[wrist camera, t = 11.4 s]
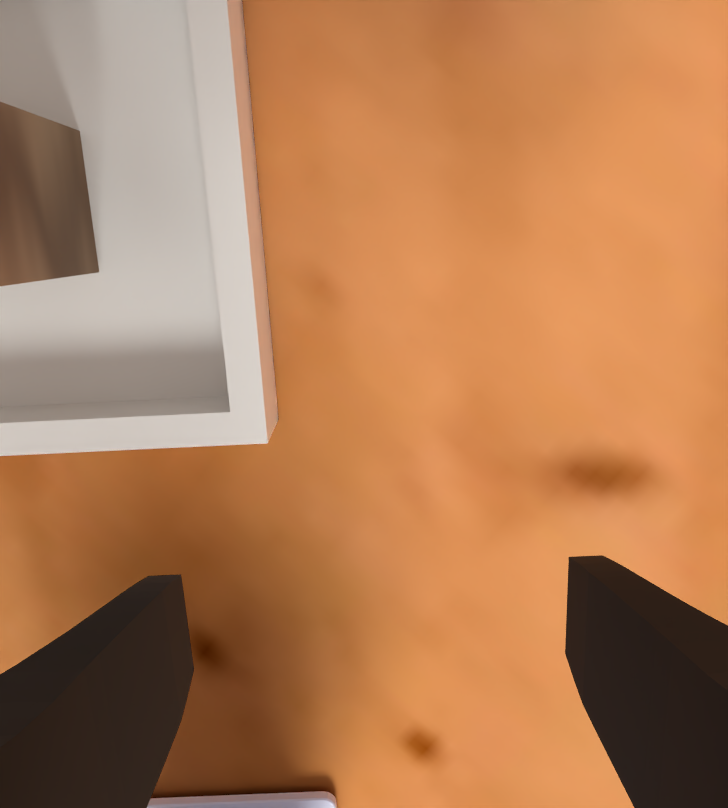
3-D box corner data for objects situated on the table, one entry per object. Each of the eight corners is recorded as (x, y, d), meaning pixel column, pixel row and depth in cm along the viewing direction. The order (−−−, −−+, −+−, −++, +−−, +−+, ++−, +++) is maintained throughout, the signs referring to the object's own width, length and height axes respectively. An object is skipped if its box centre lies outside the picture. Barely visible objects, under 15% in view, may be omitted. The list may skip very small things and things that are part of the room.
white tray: (278, 419, 21) (267, 443, 19) (-141, 439, 21) (-205, 465, 19) (236, -69, 17) (215, -118, 15) (-268, -42, 18) (-367, -85, 15)
